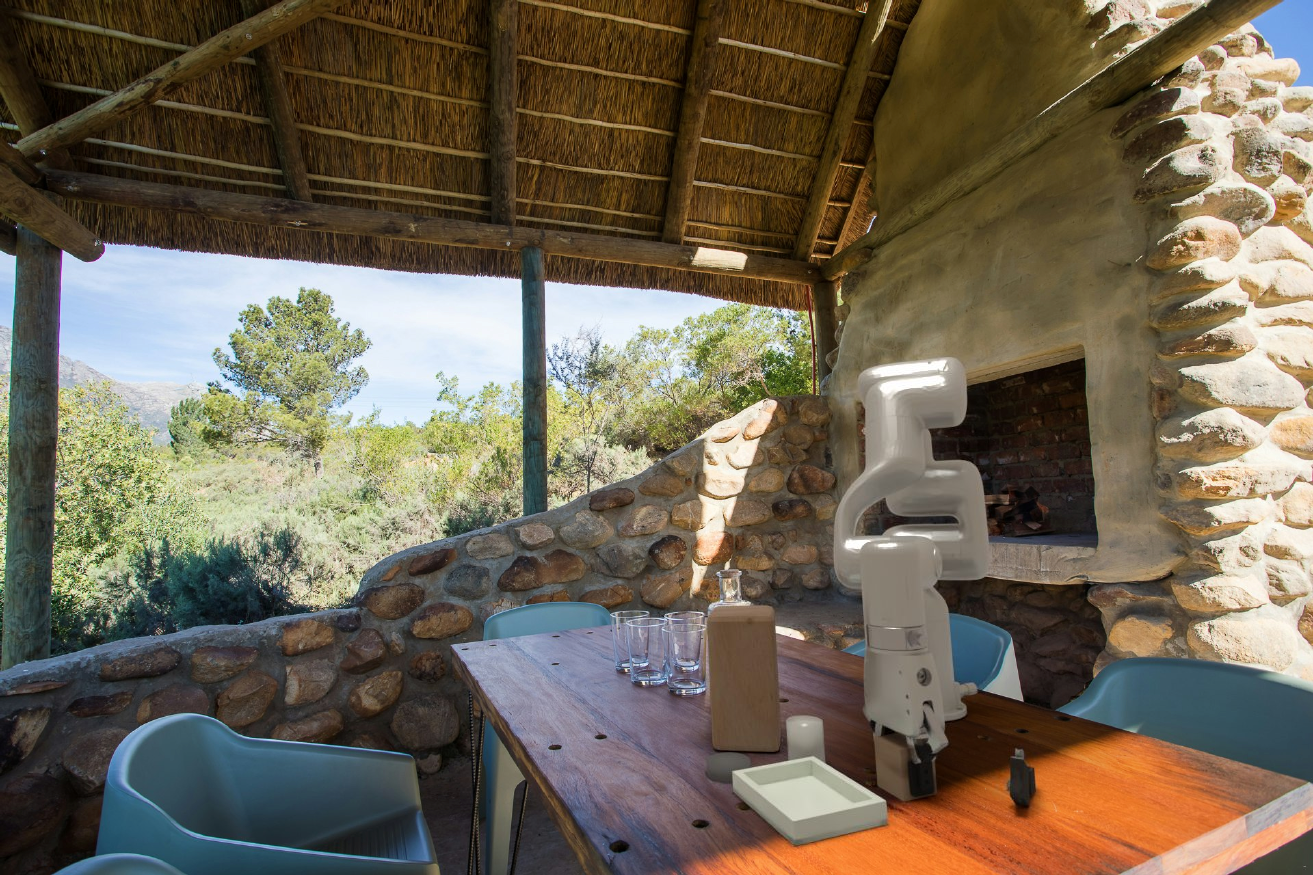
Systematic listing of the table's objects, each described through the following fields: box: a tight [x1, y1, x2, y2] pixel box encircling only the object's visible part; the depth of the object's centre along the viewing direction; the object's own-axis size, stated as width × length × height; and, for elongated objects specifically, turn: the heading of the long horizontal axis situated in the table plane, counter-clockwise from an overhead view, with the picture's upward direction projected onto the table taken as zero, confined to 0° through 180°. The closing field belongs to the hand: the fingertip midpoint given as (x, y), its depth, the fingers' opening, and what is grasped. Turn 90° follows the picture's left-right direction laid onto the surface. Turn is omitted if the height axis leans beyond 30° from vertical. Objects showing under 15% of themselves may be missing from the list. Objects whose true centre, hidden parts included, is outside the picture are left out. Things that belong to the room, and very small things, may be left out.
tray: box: [732, 756, 889, 847], centre depth 81 cm, size 12×15×2 cm
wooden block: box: [706, 604, 782, 753], centre depth 104 cm, size 10×10×20 cm
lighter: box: [1005, 748, 1037, 808], centre depth 81 cm, size 9×2×6 cm
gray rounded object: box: [705, 751, 752, 784], centre depth 91 cm, size 6×6×2 cm
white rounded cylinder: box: [785, 714, 826, 764], centre depth 93 cm, size 5×5×6 cm
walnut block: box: [873, 733, 938, 802], centre depth 84 cm, size 5×5×6 cm
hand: (906, 783), depth 84 cm, fingers closed on walnut block, 5 cm apart
